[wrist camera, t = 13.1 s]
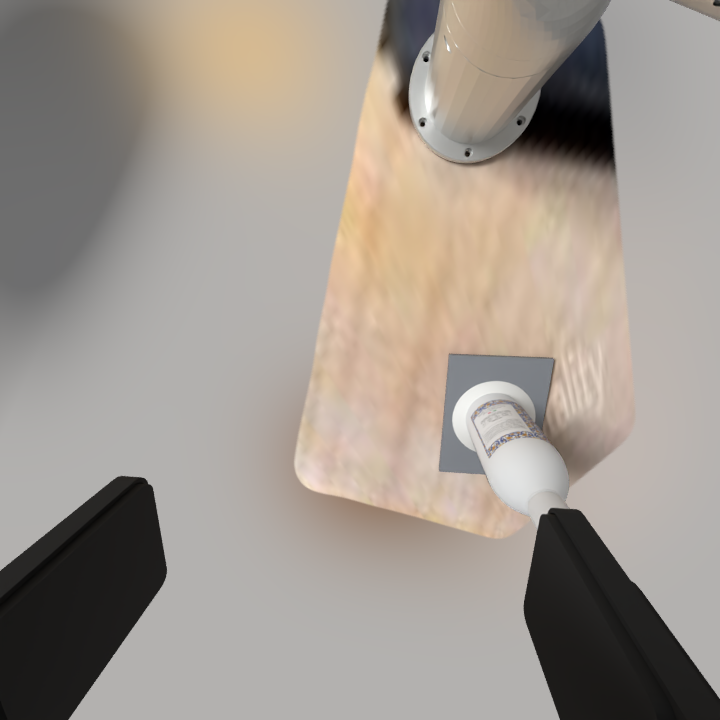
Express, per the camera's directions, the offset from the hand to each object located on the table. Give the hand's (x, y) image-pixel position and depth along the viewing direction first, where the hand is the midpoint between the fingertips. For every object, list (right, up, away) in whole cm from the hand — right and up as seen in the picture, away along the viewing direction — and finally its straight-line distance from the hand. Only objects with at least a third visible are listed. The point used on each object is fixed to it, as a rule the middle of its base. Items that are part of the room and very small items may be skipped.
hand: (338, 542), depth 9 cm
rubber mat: (+17, -3, +37) cm, 41 cm away
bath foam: (+17, -3, +37) cm, 40 cm away
